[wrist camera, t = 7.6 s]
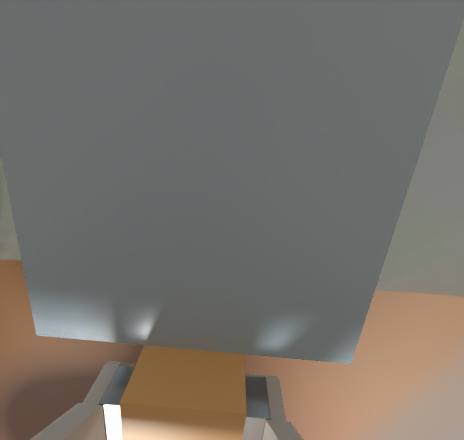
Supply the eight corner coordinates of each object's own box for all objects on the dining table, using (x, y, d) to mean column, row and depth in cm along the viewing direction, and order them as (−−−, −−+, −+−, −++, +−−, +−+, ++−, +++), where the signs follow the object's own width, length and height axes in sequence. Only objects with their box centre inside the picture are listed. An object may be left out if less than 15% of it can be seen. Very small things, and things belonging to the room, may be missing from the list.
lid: (13, -132, 6) (-295, -492, 3) (443, -84, 7) (716, -368, 3) (80, 371, 12) (9, 479, 8) (312, 391, 12) (346, 507, 8)
